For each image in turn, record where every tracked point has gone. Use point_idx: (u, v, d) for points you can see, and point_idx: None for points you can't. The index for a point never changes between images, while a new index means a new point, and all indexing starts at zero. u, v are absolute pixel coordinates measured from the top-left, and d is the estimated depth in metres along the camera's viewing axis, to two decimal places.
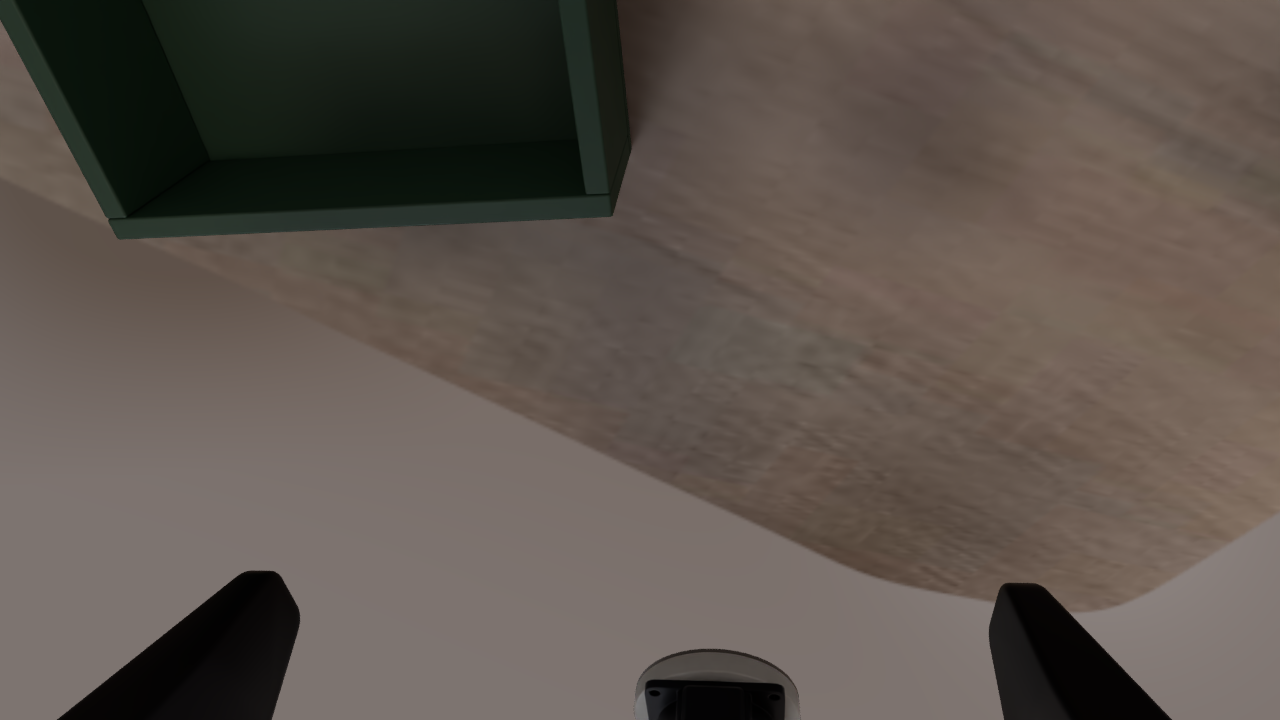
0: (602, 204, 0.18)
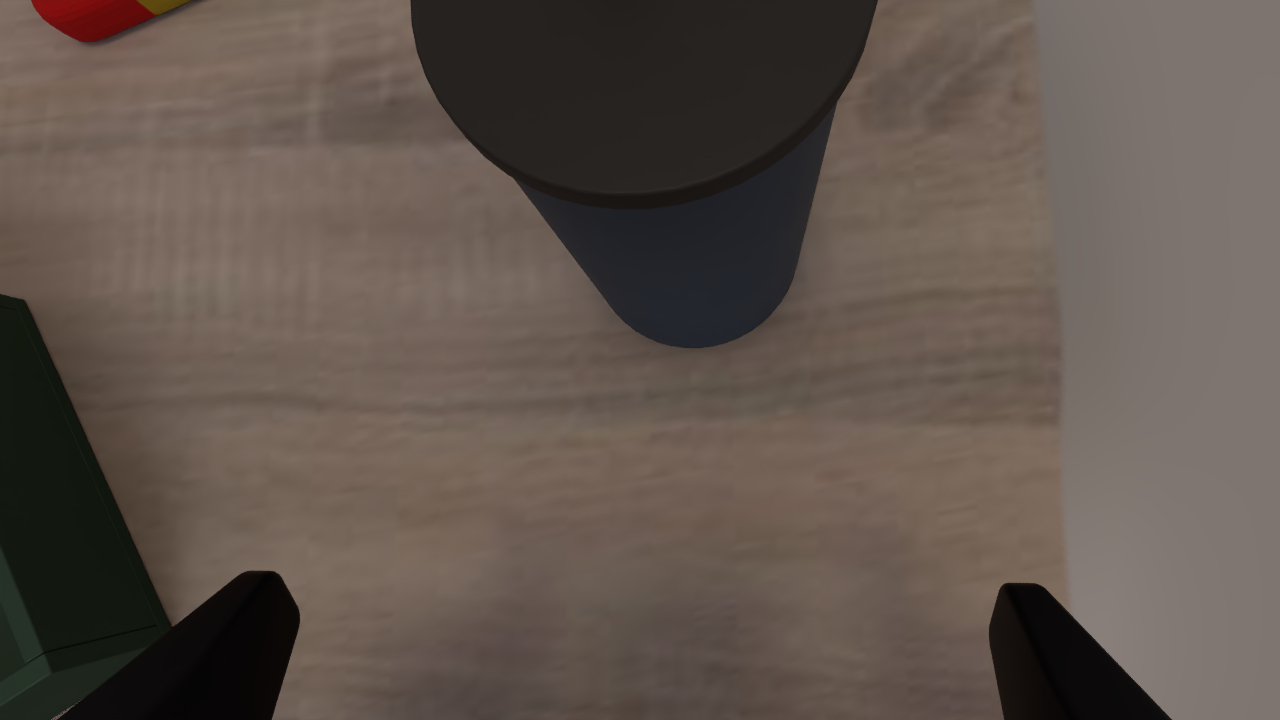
0: (39, 665, 0.20)
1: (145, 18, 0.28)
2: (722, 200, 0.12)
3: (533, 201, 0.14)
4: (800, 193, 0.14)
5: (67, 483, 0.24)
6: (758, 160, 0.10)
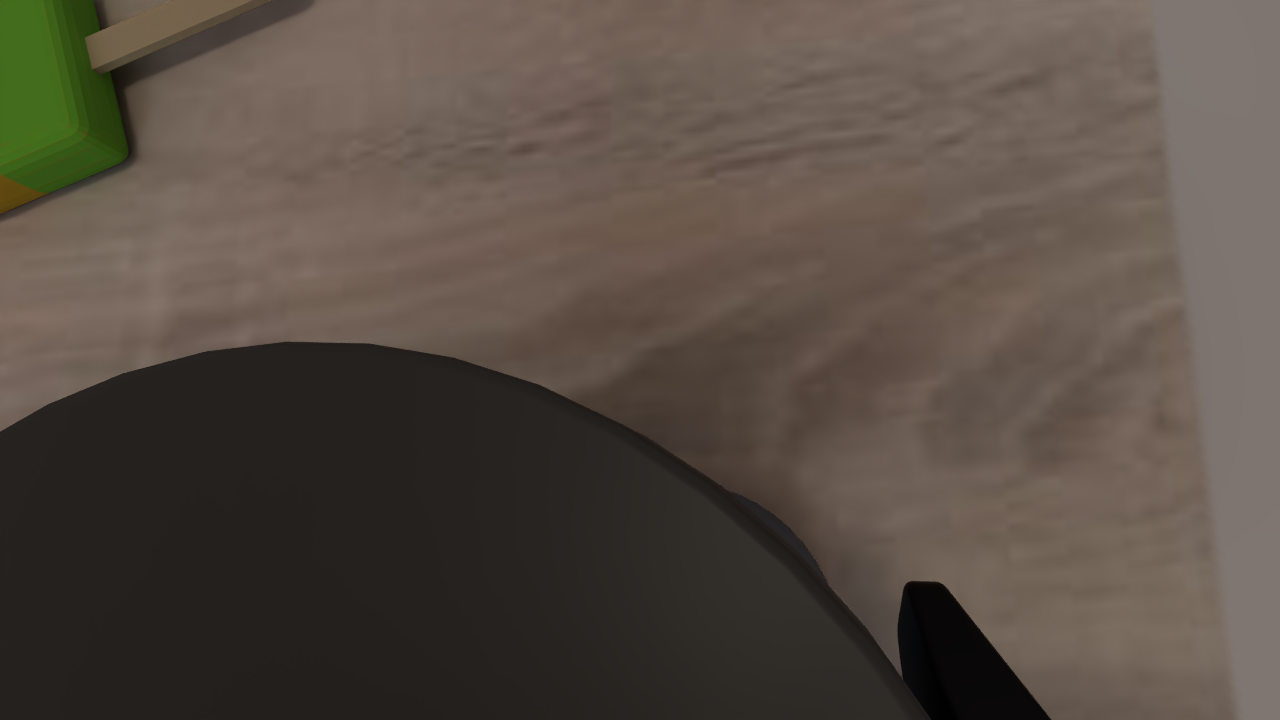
0: None
1: None
2: None
3: None
4: None
5: None
6: None
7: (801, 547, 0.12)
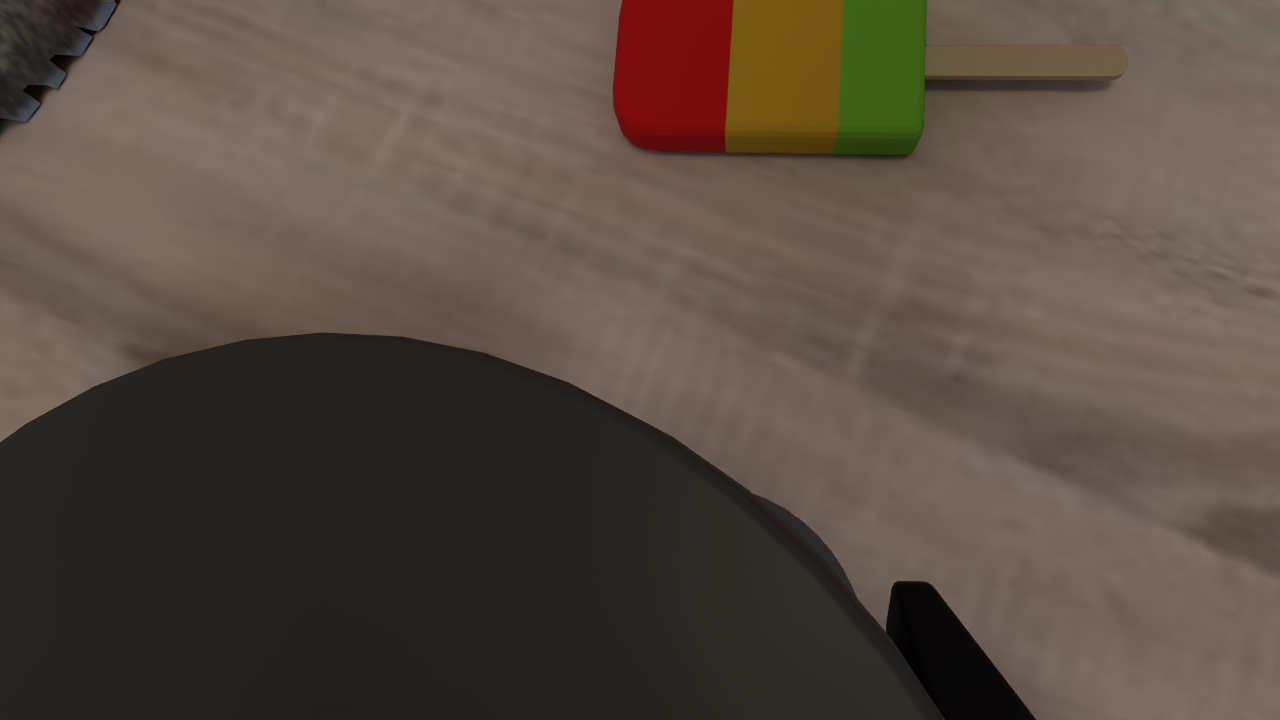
0: None
1: (713, 151, 0.24)
2: None
3: None
4: None
5: None
6: None
7: (828, 554, 0.12)
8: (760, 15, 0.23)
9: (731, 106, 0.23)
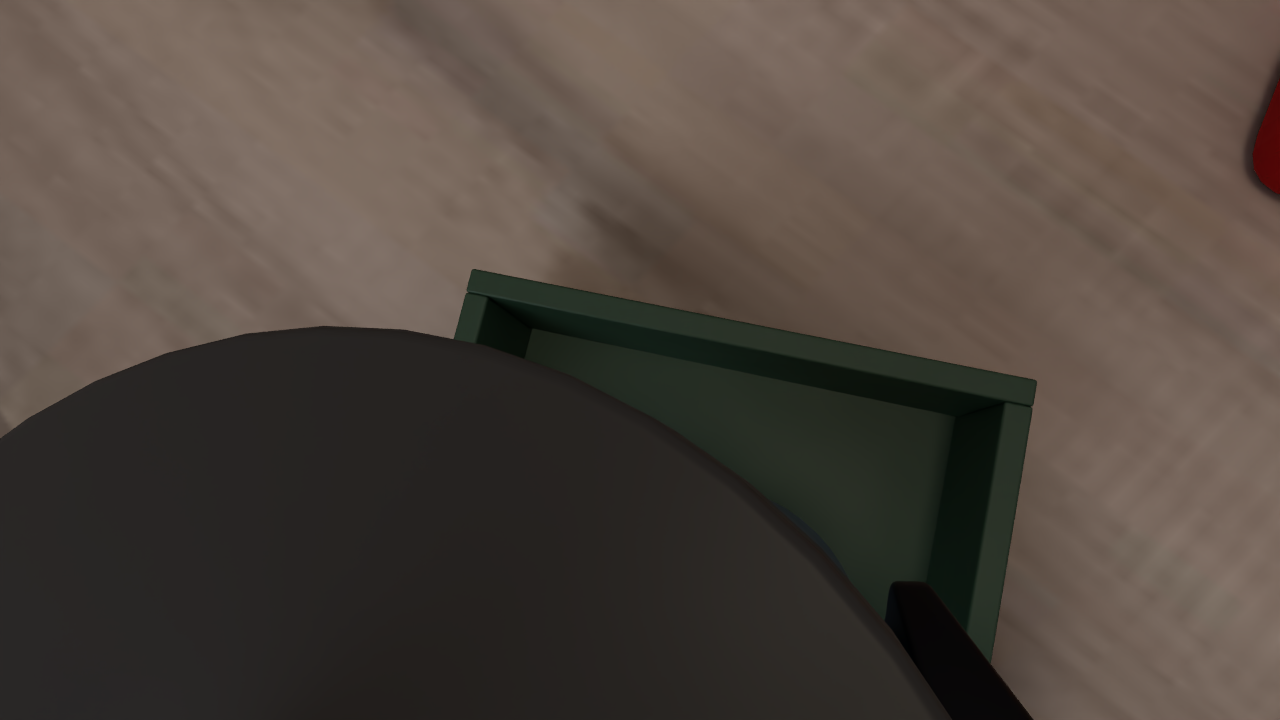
0: None
1: None
2: None
3: None
4: None
5: None
6: None
7: (829, 553, 0.12)
8: None
9: None
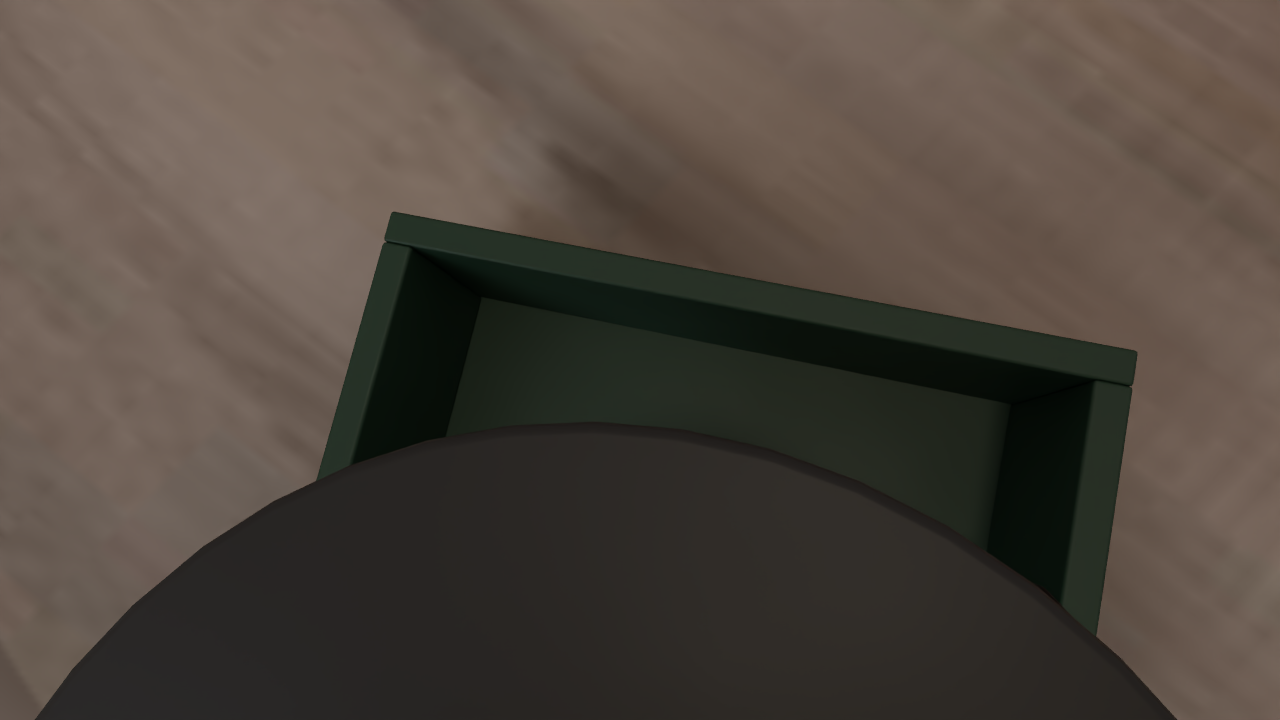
0: None
1: None
2: None
3: None
4: None
5: None
6: None
7: None
8: None
9: None
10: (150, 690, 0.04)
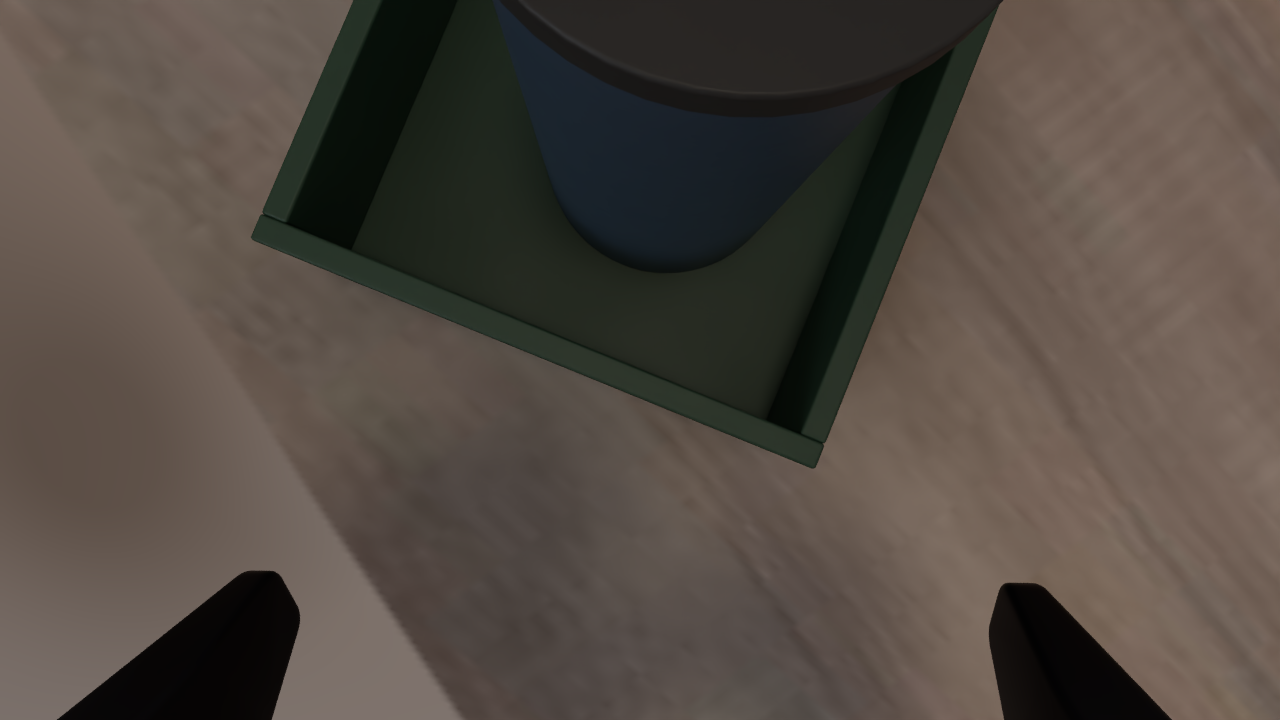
0: (812, 450, 0.17)
1: None
2: (774, 124, 0.09)
3: (516, 52, 0.10)
4: (843, 137, 0.12)
5: None
6: (853, 87, 0.08)
7: None
8: None
9: None
10: None
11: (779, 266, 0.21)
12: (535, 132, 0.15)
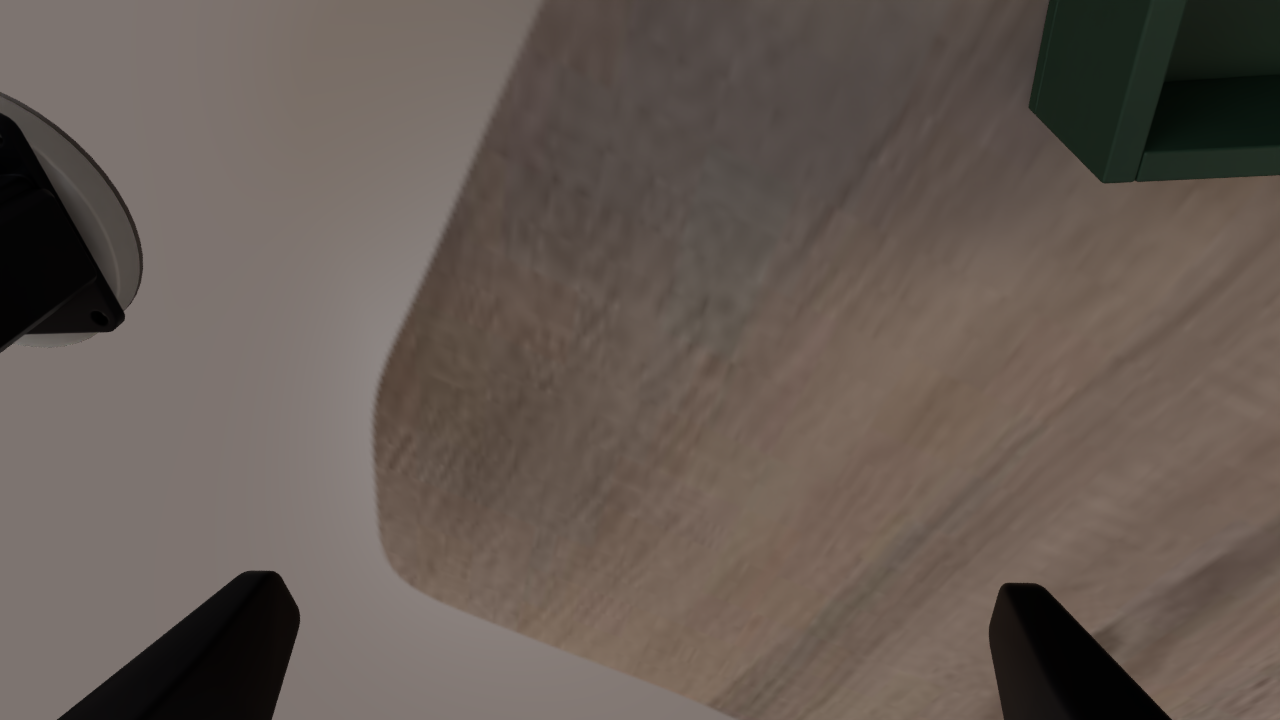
0: (1125, 173, 0.14)
1: None
2: None
3: None
4: None
5: None
6: None
7: None
8: None
9: None
10: None
11: None
12: None
